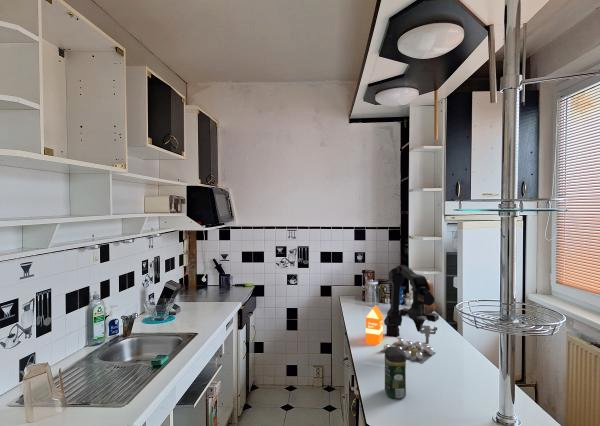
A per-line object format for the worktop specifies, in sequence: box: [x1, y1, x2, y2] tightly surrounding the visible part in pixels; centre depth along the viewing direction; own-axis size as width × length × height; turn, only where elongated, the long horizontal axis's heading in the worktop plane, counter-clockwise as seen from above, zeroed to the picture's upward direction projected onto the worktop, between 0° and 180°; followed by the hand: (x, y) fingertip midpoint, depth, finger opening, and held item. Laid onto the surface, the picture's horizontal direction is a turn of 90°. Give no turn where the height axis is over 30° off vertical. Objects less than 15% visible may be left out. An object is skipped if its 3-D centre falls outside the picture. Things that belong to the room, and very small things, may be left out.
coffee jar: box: [384, 347, 407, 400], centre depth 156 cm, size 10×8×19 cm
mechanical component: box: [419, 324, 438, 345], centre depth 210 cm, size 3×10×10 cm, turn 78°
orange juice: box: [365, 305, 384, 346], centre depth 214 cm, size 8×9×20 cm
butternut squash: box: [423, 279, 436, 314], centre depth 264 cm, size 14×13×25 cm
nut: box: [409, 346, 418, 355], centre depth 196 cm, size 4×5×3 cm
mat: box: [379, 341, 437, 365], centre depth 198 cm, size 23×18×1 cm
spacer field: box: [383, 337, 434, 361], centre depth 197 cm, size 22×18×4 cm
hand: (418, 331), depth 194 cm, fingers closed
